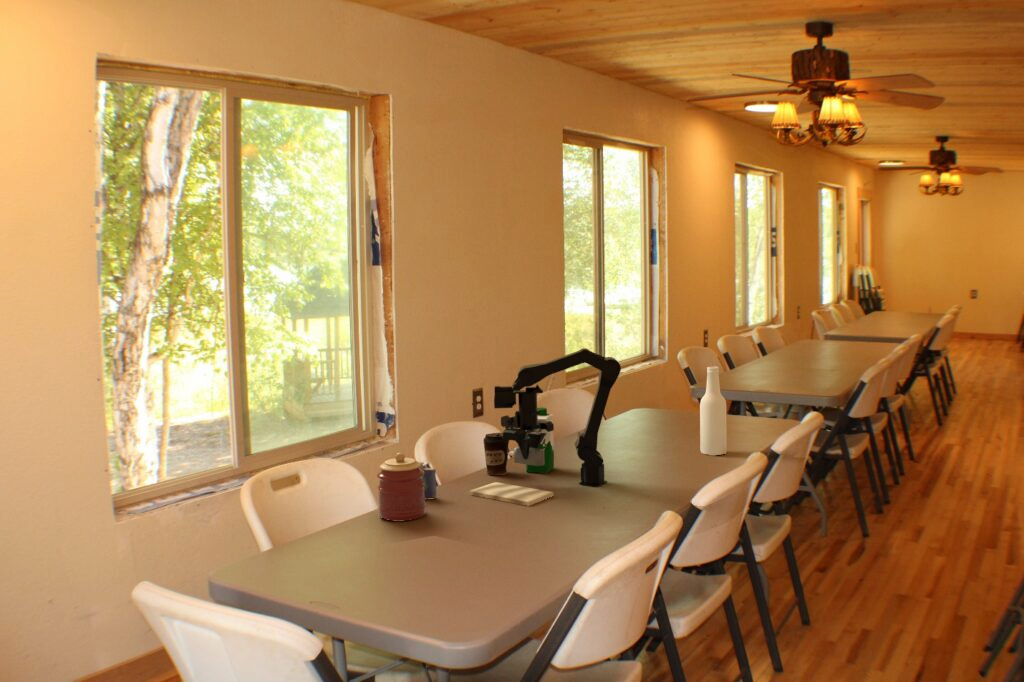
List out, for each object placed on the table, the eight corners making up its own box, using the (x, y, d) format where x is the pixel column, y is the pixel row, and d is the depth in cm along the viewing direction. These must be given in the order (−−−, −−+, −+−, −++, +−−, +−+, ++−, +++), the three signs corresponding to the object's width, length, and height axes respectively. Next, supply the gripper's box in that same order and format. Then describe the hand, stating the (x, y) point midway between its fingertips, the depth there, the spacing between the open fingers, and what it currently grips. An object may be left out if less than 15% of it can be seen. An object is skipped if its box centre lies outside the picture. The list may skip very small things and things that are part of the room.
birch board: (553, 496, 274) (553, 492, 274) (528, 506, 264) (528, 501, 264) (495, 485, 287) (495, 482, 287) (469, 494, 278) (469, 490, 278)
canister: (388, 525, 250) (385, 460, 248) (372, 513, 262) (369, 451, 260) (433, 517, 256) (430, 454, 254) (415, 506, 268) (413, 445, 266)
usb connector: (546, 464, 284) (546, 449, 283) (539, 466, 281) (539, 452, 281) (514, 458, 292) (513, 445, 291) (506, 461, 289) (506, 447, 288)
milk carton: (557, 467, 308) (555, 407, 306) (547, 474, 299) (546, 412, 297) (532, 466, 311) (530, 406, 309) (522, 472, 303) (520, 411, 301)
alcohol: (730, 452, 322) (729, 366, 319) (721, 457, 315) (720, 369, 312) (705, 449, 327) (705, 364, 324) (696, 455, 320) (695, 368, 317)
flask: (438, 497, 276) (436, 462, 275) (433, 500, 273) (432, 464, 272) (410, 495, 279) (408, 460, 278) (405, 498, 277) (403, 462, 276)
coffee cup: (507, 477, 297) (505, 437, 296) (481, 476, 299) (480, 436, 297) (512, 470, 306) (511, 431, 304) (487, 470, 307) (486, 431, 306)
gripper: (525, 400, 296) (526, 449, 298) (487, 410, 282) (489, 460, 283) (554, 403, 289) (555, 453, 291) (517, 413, 275) (518, 465, 276)
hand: (529, 458), depth 285 cm, fingers closed on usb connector, 4 cm apart
